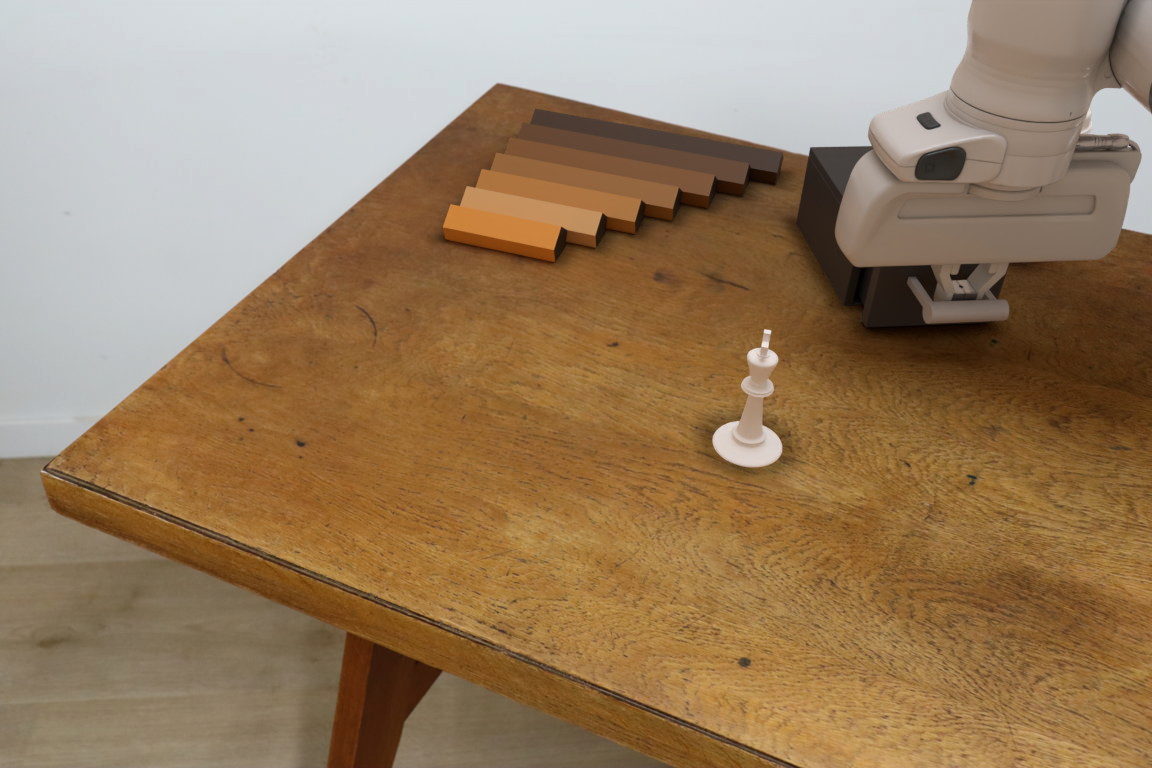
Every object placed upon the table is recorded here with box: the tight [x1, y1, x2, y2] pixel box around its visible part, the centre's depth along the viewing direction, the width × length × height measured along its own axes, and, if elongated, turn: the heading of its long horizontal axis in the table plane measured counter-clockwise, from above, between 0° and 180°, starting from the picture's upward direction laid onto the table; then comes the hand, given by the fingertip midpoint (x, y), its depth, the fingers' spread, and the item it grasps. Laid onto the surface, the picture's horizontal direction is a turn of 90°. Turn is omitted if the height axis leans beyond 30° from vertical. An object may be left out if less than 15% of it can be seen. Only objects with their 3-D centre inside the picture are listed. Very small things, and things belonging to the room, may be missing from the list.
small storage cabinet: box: [795, 145, 873, 307], centre depth 94 cm, size 14×12×8 cm
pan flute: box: [442, 108, 784, 263], centre depth 101 cm, size 25×3×25 cm
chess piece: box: [711, 328, 783, 468], centre depth 73 cm, size 5×5×10 cm
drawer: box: [856, 263, 1011, 328], centre depth 89 cm, size 18×10×6 cm, turn 7°
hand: (955, 306), depth 83 cm, fingers closed
